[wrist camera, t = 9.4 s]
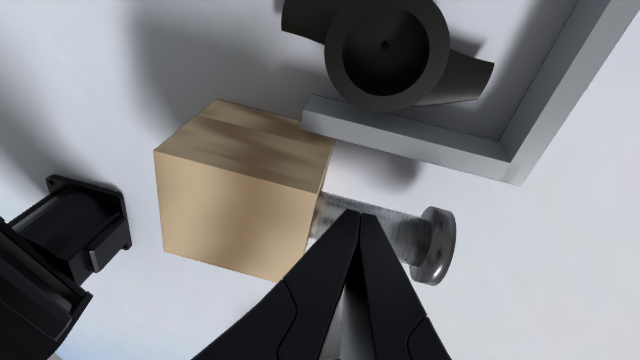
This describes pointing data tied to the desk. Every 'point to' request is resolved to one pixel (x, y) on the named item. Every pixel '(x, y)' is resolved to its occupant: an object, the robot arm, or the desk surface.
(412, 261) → the shaft
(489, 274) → the desk surface
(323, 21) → the black ring with tabs
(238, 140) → the bearing block
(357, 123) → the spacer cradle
